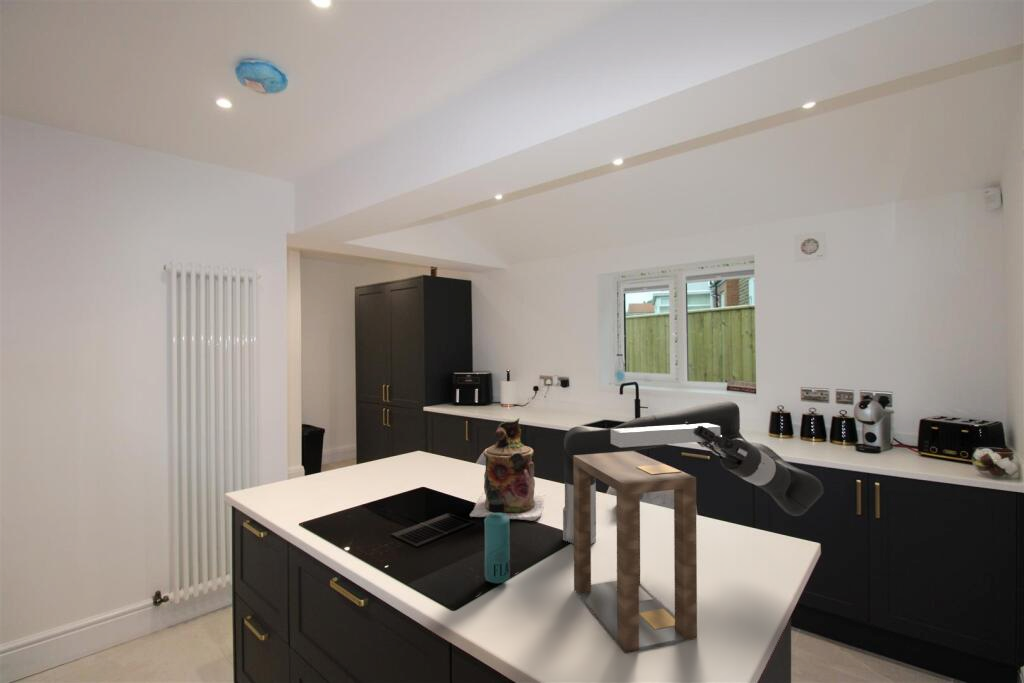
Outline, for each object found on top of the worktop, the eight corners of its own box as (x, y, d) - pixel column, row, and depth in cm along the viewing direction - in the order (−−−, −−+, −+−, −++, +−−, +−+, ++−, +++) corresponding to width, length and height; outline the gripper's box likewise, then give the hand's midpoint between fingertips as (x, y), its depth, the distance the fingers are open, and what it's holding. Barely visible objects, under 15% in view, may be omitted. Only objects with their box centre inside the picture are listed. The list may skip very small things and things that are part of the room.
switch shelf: (633, 580, 117) (633, 450, 117) (697, 638, 94) (696, 476, 94) (574, 589, 113) (573, 454, 113) (625, 653, 89) (624, 483, 90)
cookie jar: (482, 495, 182) (482, 412, 183) (546, 498, 179) (545, 413, 179) (468, 519, 158) (467, 423, 158) (541, 522, 155) (541, 425, 155)
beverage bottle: (491, 592, 112) (490, 507, 112) (479, 579, 117) (479, 499, 117) (515, 585, 115) (515, 503, 115) (503, 573, 120) (502, 495, 120)
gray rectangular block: (707, 436, 105) (707, 423, 105) (720, 440, 102) (720, 426, 102) (610, 443, 99) (610, 429, 99) (620, 447, 95) (620, 432, 95)
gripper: (731, 440, 113) (678, 407, 109) (780, 454, 100) (721, 416, 95) (718, 469, 112) (663, 436, 108) (766, 486, 99) (705, 450, 94)
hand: (691, 427), depth 102 cm, fingers closed on gray rectangular block, 4 cm apart
